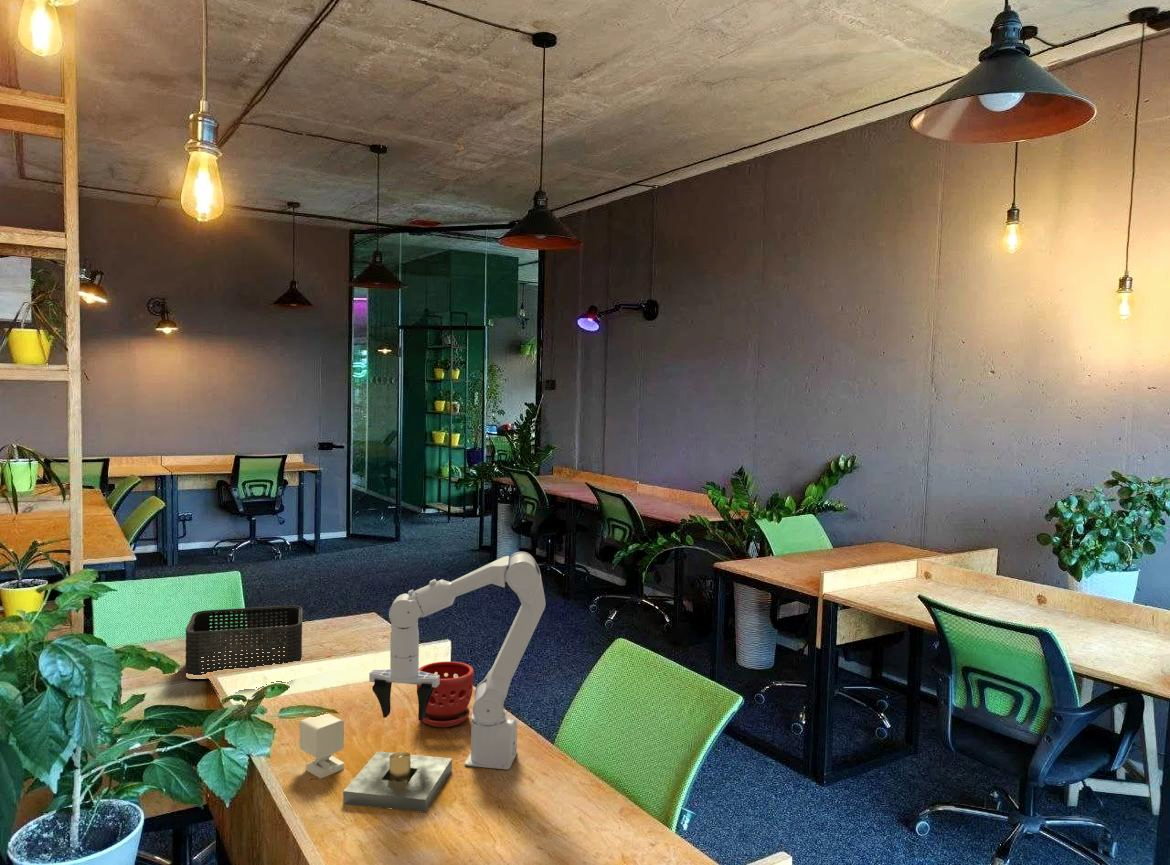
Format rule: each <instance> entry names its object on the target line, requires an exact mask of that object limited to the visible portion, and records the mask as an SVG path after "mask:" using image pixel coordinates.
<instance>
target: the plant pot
mask: <svg viewBox="0 0 1170 865" xmlns="http://www.w3.org/2000/svg"><path fill="white" fill-rule="evenodd" d="M419 671H422V672H426V673H430V674H435V673H437V674H436V675H440V684H439V685H438V686H437V687H435V688H434V690H433V692H432V694H431V697H430V699H429V702H428V705H427V709H426V714H425V718H424V719H423V720H422V721H421V722H423V723H424V724H426V725H428V726H431V727H437V728H444V727H447V728H449V727H453V726H457V725H461V723H464V722H465V721H466V720H468V717H469V716H470V713H471V711H470V708H469V707H468V706H469V704H470V701H471V698H472V695H473V690H474V689H473V688H474V668H473V667H472V666H471V665H470V664H466V663H464V662H459V661H438V662H437V661H436V662H432V663H428V664H427V663H426V664H424V665H422V666H421V667H419ZM445 674H447V676H445ZM454 675H457V677H454ZM420 687H421V685H416V691H417V690H418V689H419V688H420Z"/></svg>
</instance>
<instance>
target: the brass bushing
mask: <svg viewBox="0 0 1170 865" xmlns="http://www.w3.org/2000/svg"><path fill="white" fill-rule="evenodd" d="M393 753H394V754H392V755H391V756H390V781H398V782H409V781H410V780H411V755H412V754H410V753H409V752H406V751H396V752H393Z"/></svg>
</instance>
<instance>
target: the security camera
mask: <svg viewBox="0 0 1170 865" xmlns="http://www.w3.org/2000/svg"><path fill="white" fill-rule="evenodd" d="M344 725H345V724H344V720H342V719H340V718H338V717H337V716H334V715H332V714H330V713H328V714H324V715H320V716H317V717H311V716H309V717H306V718H304V719H301V721H300V722H299V749H300V750H301V751H303V752H305V753H307V754H308V755H310V756H312V757H314V758H315V759H314V760H311V761H309V762H306V763H305V770H306V771H307V772H309V773H310V774H312V775H313V776H315V777H317V778H318V779H323V778H327V777H329V776H331V775H333V774H335V773H338V772H341V771H343V770H344V769H345V768H344V767H345V762H343V761H342V760H340V759H339V758H336V757H335V756H333V755H334V754H335V753H338V752H340V751H342V750H343V749H344V744H345V742H344V741H345V737H344V736H345V735H344V733H345V732H344V731H345V729H344V727H345V726H344Z"/></svg>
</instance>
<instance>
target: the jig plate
mask: <svg viewBox="0 0 1170 865" xmlns="http://www.w3.org/2000/svg"><path fill="white" fill-rule="evenodd" d="M394 753H395V752H388V751H376V752H375V754H374V755H372V757H371V758H370V759H369V761H367V763H366V764H365V765H364V766H363V767H362V768H361V770H360V771H359V772H358V773H357V774H356V776H355V777H354V778H353V779H352V780H351V782H350V783H349V784H348V785H347V786H346V788H344V789H343V791H342V793H343V794H342V796H343V798H342V799H343V800H342V804H343V805H349V806H361V807H368V806H369V807H370V806H371V807H370V808H377V807H381V808H380V809H387V808H392V809H391V810H396V809H399V810H398V811H405V810H409V811H408V812H415V811H419V812H418V813H424V812H425V813H426V812H427V811H426V810H428V809H429V807H430V806H431V804H432V803H433V801H434V799H435V798H436V796H437V795H438V793H439V792H440V789H441V788H442V787H443V785H444V784H445V783H446V781H447V779H448V777H449V775H450V774H451V772H452V770H453V768H452V767H453V763H452V762H453V758H451V757H450V758H449V757H441V756H432V755H431V756H430V755H420V754H410V755H411V780H410V781H409V782H398V781H390V756H391V755H392V754H394ZM429 805H430V806H429ZM420 811H421V812H420Z"/></svg>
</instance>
